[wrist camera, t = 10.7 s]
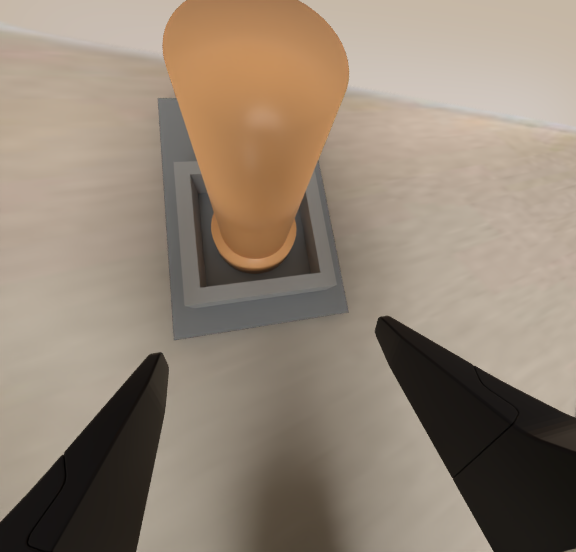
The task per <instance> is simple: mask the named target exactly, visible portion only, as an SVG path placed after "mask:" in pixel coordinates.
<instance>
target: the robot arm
mask: <svg viewBox="0 0 576 552" xmlns="http://www.w3.org/2000/svg"><path fill="white" fill-rule="evenodd" d="M375 334H376V337H377V339H378V341H379V344H380V346H381V348H382V351H383V353H384V355H385V358H386V360H387V362H388V364H389V366H390V368H391V370H392V372H393V374H394V375H395V377H396V379H397V381H398V382H399V384H400V386H401V388H402V390H403V391H404V393H405V395H406V397H407V398H408V400H409V402H410V404H411V406H412V407H413V409H414V411H415V413H416V414H417V416H418V418H419V420H420V422H421V423H422V425H423V427H424V429H425V430H426V432H427V434H428V436H429V438H430V439H431V441H432V443H433V445H434V446H435V448H436V450H437V452H438V453H439V455H440V457H441V459H442V461H443V462H444V464H445V466H446V468H447V469H448V471H449V473H450V475H451V477H452V478H453V480H454V482H455V484H456V486H457V488H458V489H459V491H460V493H461V495H462V496H463V498H464V500H465V502H466V503H467V505H468V507H469V509H470V511H471V512H472V514H473V516H474V518H475V519H476V521H477V523H478V525H479V527H480V528H481V530H482V532H483V534H484V535H485V537H486V539H487V541H488V543H489V544H490V546H491V548H492V550H493V551H494V552H576V418H575V417H572V416H570V415H568V414H565V413H563V412H561V411H559V410H557V409H555V408H553V407H551V406H549V405H547V404H545V403H543V402H542V401H540V400H538V399H536V398H534V397H532V396H530V395H528V394H526V393H524V392H522V391H520V390H518V389H516V388H514V387H512V386H510V385H508V384H507V383H505V382H503V381H501V380H499V379H497V378H495V377H494V376H492V375H490V374H488V373H487V372H485V371H483V370H481V369H480V368H478V367H476V366H473V365H472V364H471V363H469V362H467V361H466V360H464V359H462V358H461V357H459V356H457V355H455V354H454V353H452V352H450V351H448V350H447V349H445V348H443V347H442V346H440V345H438V344H436V343H435V342H433V341H431V340H430V339H428V338H426V337H424V336H423V335H421V334H419V333H417V332H416V331H414V330H412V329H411V328H409V327H407V326H405V325H404V324H402V323H400V322H398V321H397V320H395V319H393V318H392V317H390V316H382V317H379V318H378V321H377V325H376V328H375ZM168 375H169V367H168V364H167V362H166V359H165V357H164V355H163V353H161V352H159V353H153V354H150V355H148V356H147V358H146V359H145V360H144V361H143V362H142V363H141V364H140V366H139V367H138V368H137V369H136V370H135V371H134V373H133V374H132V375H131V376H130V377H129V378H128V379H127V381H126V382H125V383H124V384H123V385H122V386H121V388H120V389H119V390H118V391H117V392H116V393H115V394H114V396H113V397H112V398H111V399H110V400H109V401H108V402H107V404H106V405H105V406H104V407H103V408H102V409H101V411H100V412H99V413H98V414H97V415H96V416H95V417H94V419H93V420H92V421H91V422H90V423H89V424H88V425H87V427H86V428H85V429H84V430H83V431H82V432H81V434H80V435H79V436H78V437H77V438H76V439H75V440H74V442H73V443H72V444H71V445H70V446H69V447H68V449H67V450H66V451H65V452H64V455H61V456H60V458H59V459H58V460H57V461H56V462H55V463H54V464H53V466H52V467H51V468H50V469H49V470H48V471H47V472H46V474H45V475H44V476H43V477H42V478H41V479H40V480H39V481H38V482H37V484H36V485H35V486H34V487H33V488H32V489H31V490H30V491H29V492H28V494H27V495H26V496H25V497H24V498H23V499H22V500H21V501H20V502H19V503H18V504H17V505H16V506H15V507H14V508H13V509H12V510H11V511H10V512H9V514H8V515H7V516H6V517H5V518H4V519H3V520H2V521H1V522H0V552H136V550H137V545H138V540H139V535H140V530H141V526H142V521H143V516H144V511H145V506H146V501H147V497H148V492H149V487H150V482H151V477H152V473H153V468H154V463H155V458H156V453H157V448H158V444H159V439H160V434H161V429H162V424H163V420H164V414H165V407H166V397H167V386H168Z"/></svg>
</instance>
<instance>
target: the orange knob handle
mask: <svg viewBox="0 0 576 552" xmlns="http://www.w3.org/2000/svg"><path fill="white" fill-rule="evenodd" d="M163 56H164V60H165V64H166V67H167V70H168V73H169V76H170V80H171V83H172V86H173V89H174V92H175V95H176V98H177V101H178V104H179V107H180V110H181V113H182V116H183V119H184V122H185V125H186V128H187V132H188V135H189V138H190V141H191V144H192V147H193V150H194V153H195V156H196V159H197V162H198V165H199V168H200V171H201V174H202V177H203V180H204V184H205V187H206V190H207V193H208V196H209V199H210V202H211V205H212V208H213V211H214V214H213V217H212V221H211V232H212V236H213V240H214V242H215V244H216V247H217V249H218V251H219V253H220V255H221V257H222V258H223V259H224V260H225V262H227V263H228V264H229V265H230V266H231V267H233V268H235V269H236V270H239V271H241V272H245V273H250V274H259V273H265V272H268V271H271V270H273V269H274V268H276V267H278V266H279V265H280V264H281V263H282V262H283V261H284V260H285V259H286V257H287V255H288V254H289V252H290V250H291V248H292V246H293V244H294V241H295V237H296V222H295V216H296V214H297V211H298V209H299V206H300V204H301V201H302V199H303V196H304V194H305V191H306V189H307V186H308V184H309V182H310V179H311V177H312V174H313V172H314V169H315V167H316V164H317V162H318V159H319V157H320V154H321V152H322V149H323V147H324V144H325V142H326V139H327V137H328V134H329V132H330V129H331V127H332V124H333V122H334V119H335V117H336V115H337V112H338V110H339V107H340V105H341V102H342V100H343V97H344V95H345V92H346V89H347V86H348V81H349V66H348V60H347V56H346V52H345V50H344V48H343V45H342V43H341V41H340V39H339V38H338V36H337V34H336V33H335V32H334V30H333V29H332V28H331V26H330V25H329V24H328V23H327V22H326V21H325V20H324V19H323V18H322V17H321V16H320V15H319V14H318V13H316V12H315V11H314V10H312V9H311V8H310V7H308V6H307V5H305V4H304V3H302V2H300V1H298V0H186V1H185V2H183V3H182V4H181V5H180V6H179V7H178V8H177V9H176V10H175V12H174V13H173V14H172V16H171V17H170V19H169V21H168V23H167V25H166V28H165V31H164V35H163Z"/></svg>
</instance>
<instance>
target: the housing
mask: <svg viewBox="0 0 576 552" xmlns="http://www.w3.org/2000/svg"><path fill="white" fill-rule="evenodd" d="M158 110H159V125H160V140H161V154H162V169H163V184H164V199H165V214H166V229H167V244H168V259H169V273H170V288H171V303H172V318H173V333H174V340H179V339H185V338H191V337H198V336H204V335H210V334H216V333H222V332H229V331H235V330H241V329H247V328H254V327H260V326H266V325H272V324H279V323H285V322H291V321H297V320H304V319H310V318H316V317H322V316H329V315H335V314H341V313H347V312H348V306H347V301H346V296H345V291H344V286H343V281H342V276H341V271H340V266H339V261H338V256H337V251H336V246H335V241H334V236H333V231H332V226H331V221H330V216H329V211H328V206H327V201H326V196H325V191H324V186H323V181H322V176H321V171H320V165H319V160H318V162H317V164H316V167H315V169H314V172H313V174H312V177H311V179H310V182H309V184H308V186H307V189H306V191H305V194H304V196H303V199H302V201H301V204H300V206H299V209H298V211H297V214H296V216H295V222H296V237H295V241H294V244H293V246H292V248H291V250H290V252H289V254H288V255H287V257H286V259H285V260H284V261H283V262H282V263H281V264H280V265H279V266H278V267H276V268H274V269H273V270H271V271H268V272H265V273H259V274H250V273H245V272H241V271H239V270H236V269H235V268H233V267H231V266H230V265H229V264H228V263H227V262H225V260H224V259H223V258H222V257H221V255H220V253H219V251H218V249H217V247H216V244H215V242H214V240H213V236H212V232H211V221H212V217H213V214H214V211H213V208H212V205H211V202H210V199H209V196H208V193H207V190H206V187H205V184H204V180H203V177H202V174H201V171H200V168H199V165H198V162H197V159H196V156H195V153H194V150H193V147H192V144H191V141H190V138H189V135H188V132H187V128H186V125H185V122H184V119H183V116H182V113H181V110H180V107H179V104H178V101H177V98H158Z"/></svg>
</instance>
